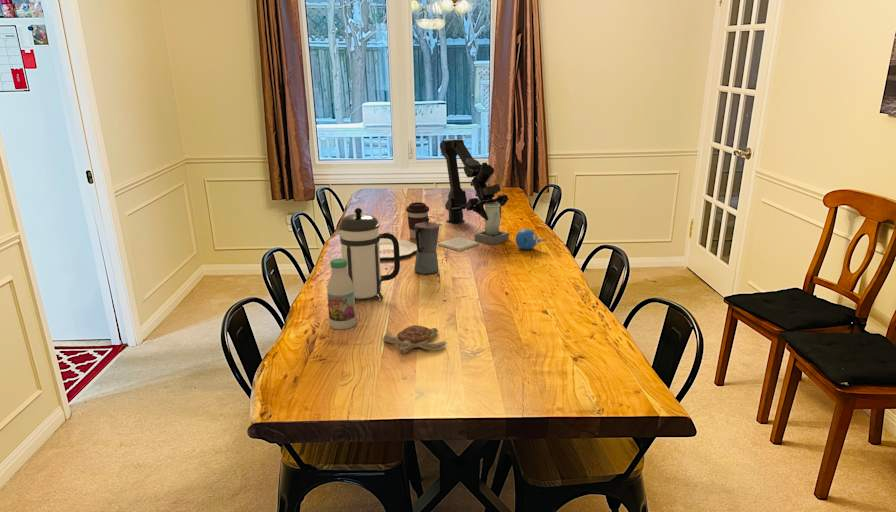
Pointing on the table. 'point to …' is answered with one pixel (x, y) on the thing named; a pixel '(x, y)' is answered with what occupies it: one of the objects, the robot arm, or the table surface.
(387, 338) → the decorative turtle
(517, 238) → the blue mole toy
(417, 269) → the moka pot
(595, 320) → the table surface
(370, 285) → the coffee press
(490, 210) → the grey domed cup
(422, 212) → the coffee cup
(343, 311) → the milk bottle
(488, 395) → the table surface
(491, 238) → the holder
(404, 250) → the plate
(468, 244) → the plate
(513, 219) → the table surface
